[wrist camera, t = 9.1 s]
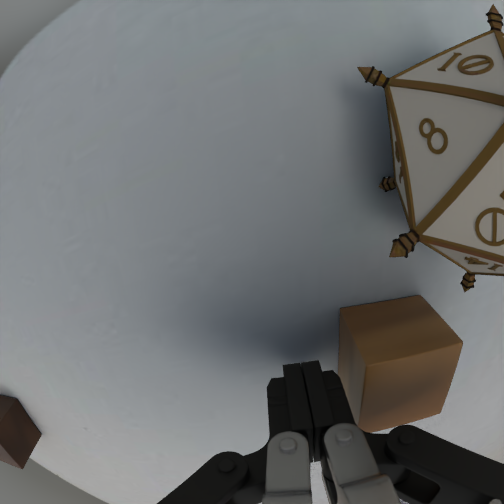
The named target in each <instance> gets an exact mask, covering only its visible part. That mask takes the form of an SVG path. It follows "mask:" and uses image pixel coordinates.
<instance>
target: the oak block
mask: <svg viewBox="0 0 504 504" xmlns="http://www.w3.org/2000/svg"><path fill="white" fill-rule="evenodd" d="M462 345H463V341H462V340H461V339H460V338H459V337H458V335H457V334H456V333H455V332H454V331H453V330H452V329H451V328H450V326H449V325H448V324H447V323H446V322H445V321H444V320H443V319H442V318H441V316H440V315H439V314H438V313H437V312H436V311H435V310H434V309H433V308H432V307H431V306H430V305H429V304H428V302H427V301H426V300H425V299H424V298H423V297H422V296H421V295H417V296H411V297H406V298H400V299H394V300H389V301H383V302H377V303H370V304H364V305H358V306H351V307H344V308H340V327H339V361H338V376H339V377H340V379H341V382H342V384H343V388H344V390H345V393H346V396H347V399H348V402H349V405H350V408H351V411H352V414H353V418H354V421H355V423H356V425H357V426H358V427H359V428H360V429H362V430H363V431H365V432H368V433H372V432H376V431H380V430H384V429H388V428H392V427H396V426H400V425H403V424H407V423H410V422H414V421H417V420H421V419H424V418H427V417H430V416H433V415H436V414H439V413H441V410H442V407H443V405H444V402H445V399H446V397H447V394H448V391H449V388H450V385H451V382H452V379H453V376H454V373H455V370H456V366H457V363H458V360H459V356H460V353H461V349H462Z"/></svg>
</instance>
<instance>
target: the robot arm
mask: <svg viewBox="0 0 504 504" xmlns="http://www.w3.org/2000/svg"><path fill="white" fill-rule="evenodd" d="M283 374H284V377H280V378H271V380H270V382H269V384H268V386H267V398H268V415H269V432H270V436H269V440H268V442H267V443H266V445H265V446H264V447H263V448H261V449H260V450H258V451H256V452H254V453H251V454H248V455H245V456H242V455H241V454H239V453H236V452H229V451H227V452H222V453H219V454H216V455H215V456H213V457H212V458H211V459H210V460H209V461H207V462H206V463H205V464H204V465H203V466H202V467H201V468H200V469H198V470H197V471H196V472H195V473H194V474H193V475H191V476H190V477H189V478H188V479H187V480H186V481H184V482H183V483H182V484H181V485H180V486H178V487H177V488H176V489H175V490H173V491H172V492H171V493H170V494H168V495H167V496H166V497H165V498H163V499H162V500H161V501H160V502H158V503H157V504H258V503H261V502H262V504H312V491H311V479H310V462H313V458H314V462H316V461H321V467H322V480H323V484H324V487H325V491H326V494H327V498H328V501H329V504H401V502H400V500H399V498H400V499H402V500H404V501H406V502H408V503H410V504H504V464H502V463H500V462H497V461H494V460H492V459H489V458H487V457H484V456H482V455H479V454H477V453H474V452H472V451H469V450H467V449H465V448H462V447H460V446H458V445H455V444H453V443H451V442H448V441H446V440H444V439H441V438H439V437H437V436H435V435H432V434H430V433H428V432H426V431H424V430H422V429H419V428H417V427H415V426H412V425H401V426H398V427H396V428H394V429H392V430H391V431H390V433H389V434H373V433H368V432H365V431H363V430H362V429H360V428H359V427H358V426H357V425H356V423H355V421H354V418H353V414H352V411H351V408H350V405H349V402H348V399H347V396H346V393H345V390H344V388H343V384H342V382H341V379H340V377H339V376H338V375H337V374H336V373H335V372H334V371H333V370H329V371H323V372H322V370H321V366H320V363H319V360H316V361H309V362H302V363H301V364H300V363H294V364H287V365H283Z"/></svg>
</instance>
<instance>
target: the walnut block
mask: <svg viewBox="0 0 504 504" xmlns="http://www.w3.org/2000/svg"><path fill="white" fill-rule="evenodd" d="M41 435H42V434H41V433H40V432H39V430H38V429H37V428H36V426H35V425H34V423H33V422H32V421H31V419H30V418H29V416H28V415H27V413H26V412H25V410H24V409H23V407H22V406H21V404H20V403H19V401H18V400H17V399H15V398H11V397H6V396H2V395H0V460H1V461H3V462H6V463H8V464H10V465H13V466H15V467H18V468H21V469H23V468H24V466H25V464H26V462H27V460H28V459H29V457H30V455H31V453H32V451H33V449H34V448H35V446H36V444H37V442H38V441H39V439H40V437H41Z"/></svg>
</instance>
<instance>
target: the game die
mask: <svg viewBox="0 0 504 504" xmlns="http://www.w3.org/2000/svg"><path fill="white" fill-rule="evenodd" d="M486 15H487V16H488V20H487V22H488V23H489V24H490V26H491V30H490V31H488V32H486V33H483V34H481V35H478V36H476V37H474V38H472V39H469V40H467V41H465V42H462V43H460V44H458V45H456V46H454V47H452V48H449V49H447V50H445V51H443V52H441V53H439V54H437V55H435V56H432V57H430V58H428V59H426V60H424V61H422V62H420V63H418V64H416V65H414V66H412V67H410V68H408V69H406V70H404V71H402V72H400V73H399V74H397V75H395V76H393V77H391V78H387V77H386V76H385V75H383V74H382V71H378V70H376V69H374V68H375V67H374V66H372V67H357V68H358V69H359V71H360V72H361V74H362V75H363V77H364V79H365V80H366V81H365V82H366V83H367V81H368V82H370V83H372V84H373V86H375V85H377V86H382V87H383V88H384V91H385V97H386V104H387V111H388V119H389V127H390V136H391V146H392V156H393V169H394V178H391V177H390V176H388V178H385V177H383V180H382V182H381V183H380V185H379V186H378V187H379V188H381V189H383V190H385V192H387V191H389V190H393V189H395V187H397V190H398V193H399V196H400V199H401V202H402V206H403V209H404V212H405V215H406V219H407V222H408V225H409V229H410V231H409V233H407V234H406V233H405V234H400V235H399V238H398V239H394V240H392V241H393V246H392V249H391V253H390V256H389V257H403V256H404V257H406V258H407V257H408V253H409V252H410V251H412V252H413V251H414V246H415V244H416V243H417V242H419V241H420V242H421V243H423V244H425V245H426V246H428V247H430V248H431V249H433V250H434V251H436V252H438V253H439V254H441V255H442V256H444V257H446V258H447V259H449V260H450V261H452V262H453V263H455V264H456V265H458V266H460V267H461V268H463V269H464V270H466V271H467V273H465V275H464V276H463V280H462V281H461V283H460V284H462V286H463V289H464V292H466V291H467V290H469V289H470V288H474V282H476V280H475V274H480V275H496V276H504V33H502V32H501V28H502V26H503V23H502V19H503V17H502V15H501V14H499V12H498V11H497V9H496V8H495V6H494V5H492V7H491V8H490V10H489V12H488V13H486Z"/></svg>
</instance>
